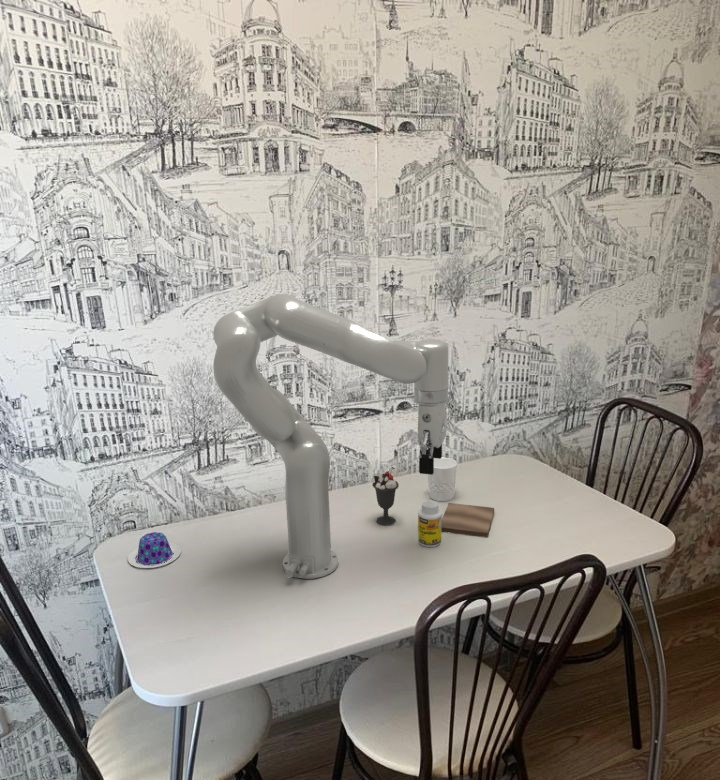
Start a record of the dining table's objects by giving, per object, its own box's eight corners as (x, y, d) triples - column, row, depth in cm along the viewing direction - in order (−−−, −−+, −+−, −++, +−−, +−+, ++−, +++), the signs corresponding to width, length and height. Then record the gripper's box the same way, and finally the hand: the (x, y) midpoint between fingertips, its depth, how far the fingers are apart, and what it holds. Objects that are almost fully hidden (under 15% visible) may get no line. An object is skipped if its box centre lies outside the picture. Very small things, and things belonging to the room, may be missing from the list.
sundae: (403, 523, 173) (403, 469, 169) (379, 529, 171) (378, 473, 166) (392, 513, 179) (392, 460, 175) (369, 518, 177) (368, 464, 172)
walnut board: (487, 537, 165) (487, 532, 165) (438, 531, 169) (438, 526, 169) (494, 512, 178) (494, 507, 178) (448, 506, 182) (448, 502, 181)
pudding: (132, 576, 153) (130, 555, 151) (124, 552, 163) (121, 532, 162) (186, 562, 158) (184, 542, 156) (174, 540, 168) (172, 520, 167)
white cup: (428, 489, 192) (428, 456, 190) (456, 490, 191) (456, 457, 188) (426, 502, 185) (426, 467, 182) (456, 503, 184) (456, 468, 181)
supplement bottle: (415, 546, 162) (415, 506, 159) (421, 535, 167) (421, 497, 164) (437, 549, 160) (438, 510, 157) (443, 538, 165) (444, 500, 162)
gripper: (440, 407, 144) (439, 482, 149) (454, 385, 160) (453, 453, 165) (405, 405, 147) (406, 478, 151) (422, 383, 162) (422, 450, 167)
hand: (430, 465), depth 158 cm, fingers open, 9 cm apart
